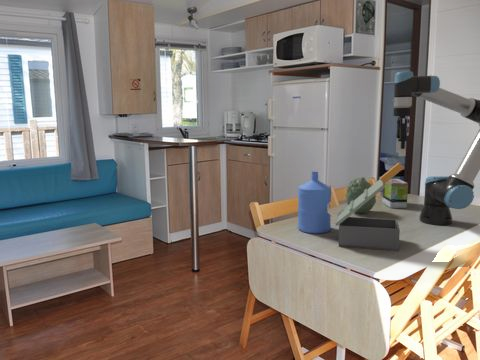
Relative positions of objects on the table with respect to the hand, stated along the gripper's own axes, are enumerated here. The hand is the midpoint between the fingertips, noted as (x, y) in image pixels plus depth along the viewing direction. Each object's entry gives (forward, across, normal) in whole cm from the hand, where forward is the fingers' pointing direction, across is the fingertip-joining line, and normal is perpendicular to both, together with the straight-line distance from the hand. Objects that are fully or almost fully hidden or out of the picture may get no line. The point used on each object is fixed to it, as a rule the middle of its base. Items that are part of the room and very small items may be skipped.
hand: (400, 154), depth 195 cm
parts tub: (+36, +20, -14) cm, 44 cm away
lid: (+15, +20, -14) cm, 29 cm away
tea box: (+37, -54, +2) cm, 66 cm away
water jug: (+36, +5, -39) cm, 53 cm away
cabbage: (+37, -32, -17) cm, 51 cm away
